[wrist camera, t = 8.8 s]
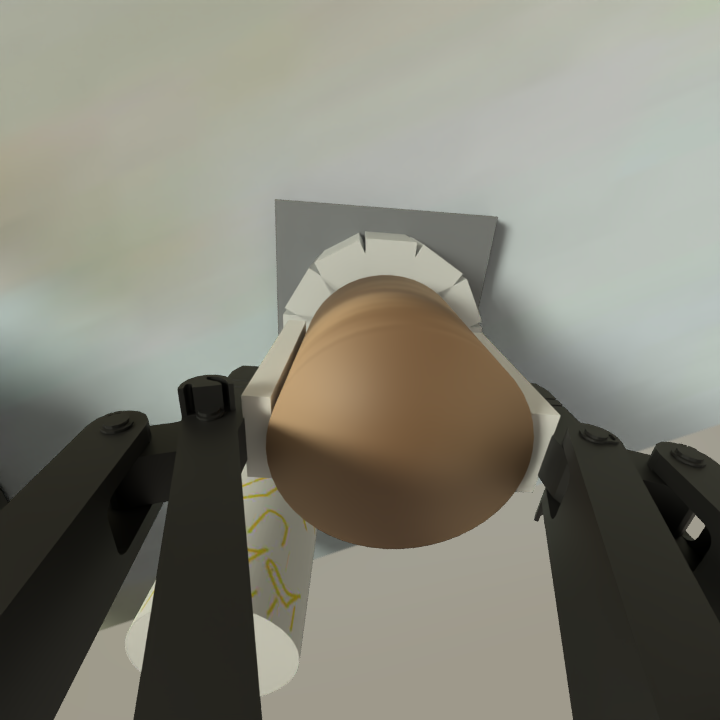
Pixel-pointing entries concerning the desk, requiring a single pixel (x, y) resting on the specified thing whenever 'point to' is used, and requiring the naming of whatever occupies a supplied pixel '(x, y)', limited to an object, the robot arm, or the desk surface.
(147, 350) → the desk surface
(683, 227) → the desk surface
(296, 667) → the cup
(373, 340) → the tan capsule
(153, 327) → the desk surface
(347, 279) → the socket
